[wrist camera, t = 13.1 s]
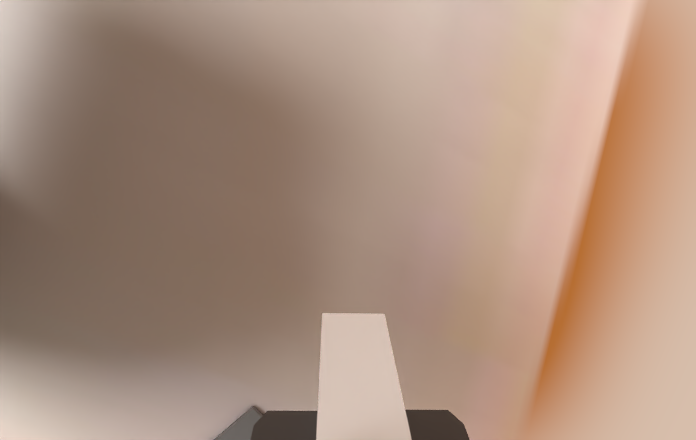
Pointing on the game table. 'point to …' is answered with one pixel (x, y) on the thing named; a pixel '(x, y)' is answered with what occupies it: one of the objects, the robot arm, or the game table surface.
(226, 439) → the mat
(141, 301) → the game table surface
